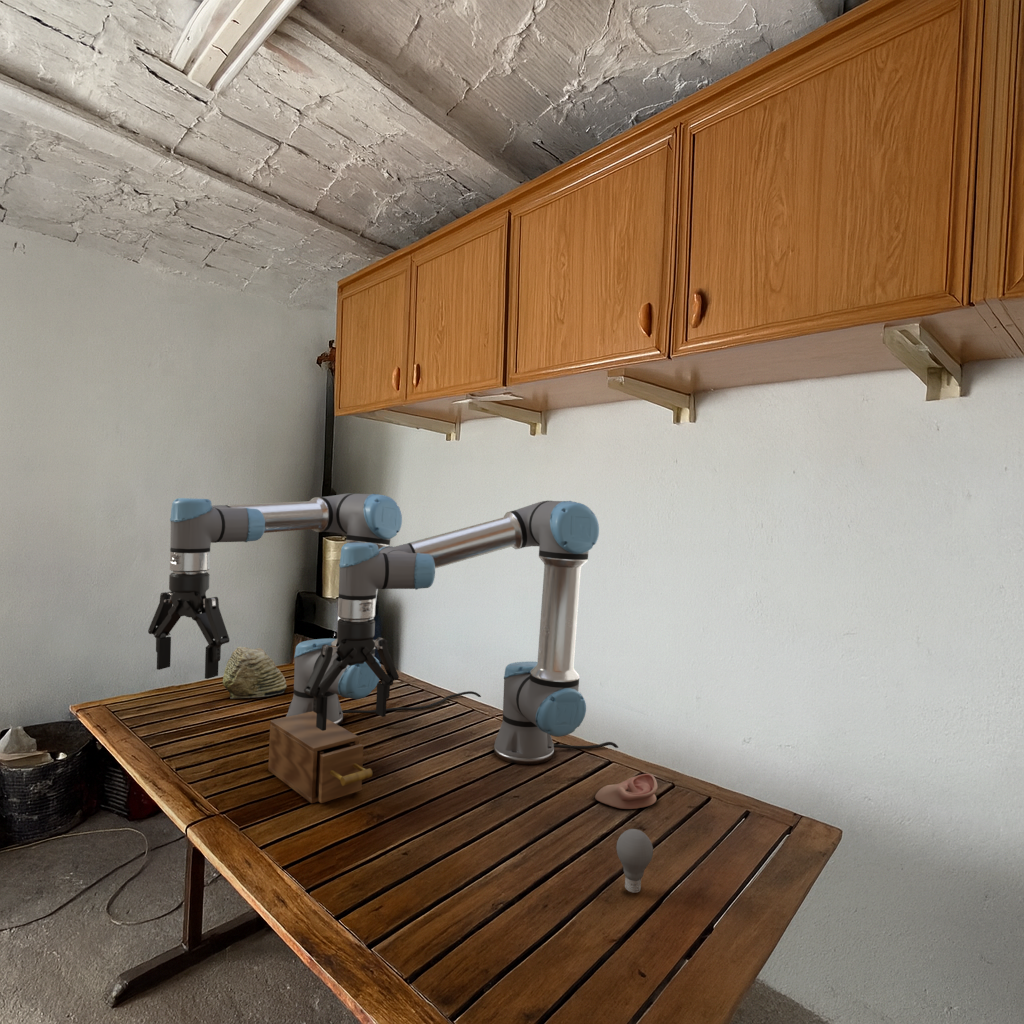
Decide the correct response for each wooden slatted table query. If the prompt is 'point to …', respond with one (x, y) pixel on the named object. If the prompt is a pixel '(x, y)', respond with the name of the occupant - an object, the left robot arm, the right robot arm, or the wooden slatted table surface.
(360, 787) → the drawer
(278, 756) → the cabinet
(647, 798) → the anatomical model
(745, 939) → the wooden slatted table surface
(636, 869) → the light bulb
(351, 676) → the left robot arm
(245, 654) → the fossil
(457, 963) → the wooden slatted table surface
